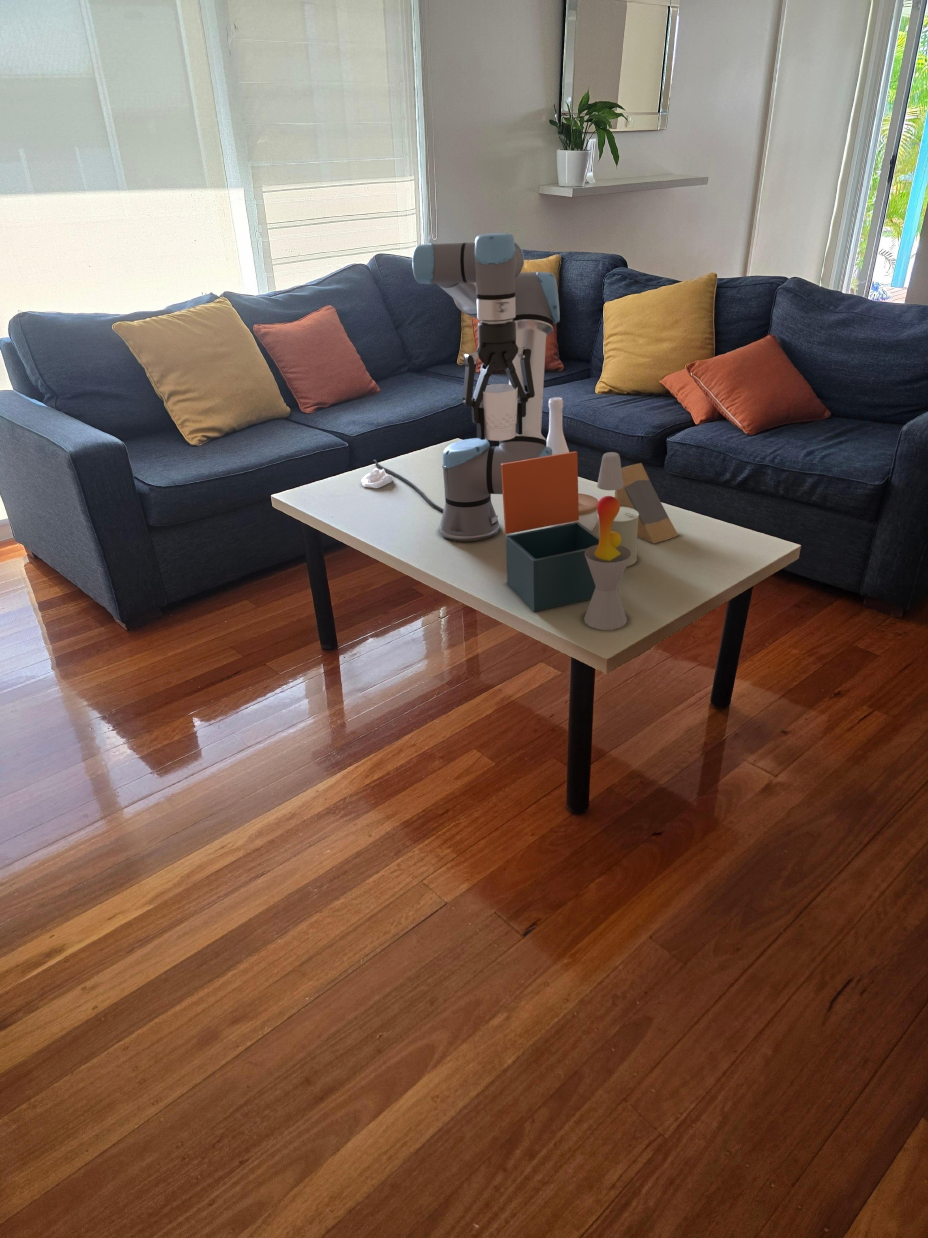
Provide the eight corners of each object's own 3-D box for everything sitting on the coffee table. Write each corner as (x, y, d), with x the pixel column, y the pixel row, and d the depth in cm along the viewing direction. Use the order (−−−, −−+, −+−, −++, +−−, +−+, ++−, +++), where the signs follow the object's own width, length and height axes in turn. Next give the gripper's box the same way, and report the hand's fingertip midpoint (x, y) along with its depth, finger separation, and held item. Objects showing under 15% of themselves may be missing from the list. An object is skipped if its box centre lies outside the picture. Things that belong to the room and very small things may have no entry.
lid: (577, 451, 180) (575, 451, 180) (502, 464, 175) (500, 463, 175) (579, 520, 186) (577, 519, 187) (506, 534, 181) (504, 533, 182)
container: (608, 595, 180) (610, 545, 174) (534, 612, 175) (533, 561, 169) (577, 569, 192) (578, 521, 186) (507, 584, 187) (505, 535, 181)
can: (627, 570, 190) (630, 521, 184) (590, 563, 195) (591, 515, 189) (642, 555, 197) (645, 507, 191) (606, 548, 201) (608, 501, 195)
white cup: (495, 429, 178) (493, 382, 174) (525, 434, 174) (525, 385, 169) (473, 438, 173) (471, 390, 168) (504, 443, 169) (502, 394, 164)
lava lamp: (611, 634, 165) (618, 464, 148) (574, 621, 171) (576, 456, 154) (636, 617, 171) (645, 451, 154) (599, 605, 176) (604, 443, 159)
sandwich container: (653, 544, 202) (657, 485, 195) (612, 525, 214) (614, 468, 207) (679, 535, 206) (684, 477, 199) (638, 517, 218) (641, 461, 210)
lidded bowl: (562, 550, 202) (563, 507, 196) (538, 532, 212) (538, 491, 207) (607, 539, 206) (609, 497, 201) (581, 522, 216) (582, 482, 211)
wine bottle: (567, 517, 220) (569, 404, 205) (533, 514, 223) (532, 402, 208) (577, 505, 227) (579, 394, 213) (543, 501, 230) (543, 393, 216)
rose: (392, 473, 245) (359, 475, 244) (394, 487, 247) (361, 490, 246) (391, 462, 253) (359, 465, 253) (393, 476, 256) (361, 479, 255)
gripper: (452, 328, 157) (458, 446, 168) (552, 317, 162) (552, 433, 173) (440, 322, 163) (447, 437, 174) (537, 313, 168) (538, 424, 179)
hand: (499, 435), depth 173 cm, fingers closed on white cup, 8 cm apart
